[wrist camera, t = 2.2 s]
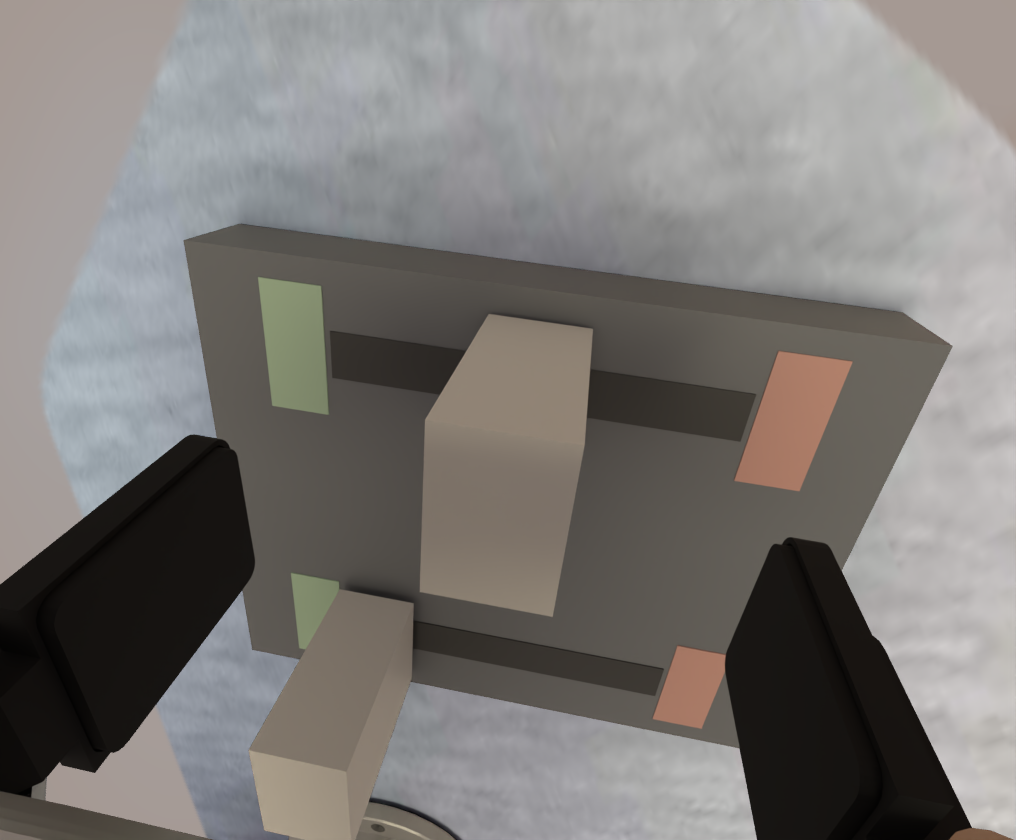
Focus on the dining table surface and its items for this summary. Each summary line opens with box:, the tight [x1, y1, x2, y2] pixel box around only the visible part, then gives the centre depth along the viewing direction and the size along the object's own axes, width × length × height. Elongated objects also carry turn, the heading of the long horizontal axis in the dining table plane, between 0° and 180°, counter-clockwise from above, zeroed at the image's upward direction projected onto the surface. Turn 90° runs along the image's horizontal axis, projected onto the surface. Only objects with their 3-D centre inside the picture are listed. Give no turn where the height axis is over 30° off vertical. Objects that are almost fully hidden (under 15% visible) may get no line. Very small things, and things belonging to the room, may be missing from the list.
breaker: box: [249, 589, 414, 840], centre depth 21 cm, size 4×3×7 cm
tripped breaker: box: [420, 314, 593, 617], centre depth 15 cm, size 4×3×7 cm
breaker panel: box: [184, 224, 952, 748], centre depth 22 cm, size 18×22×3 cm
